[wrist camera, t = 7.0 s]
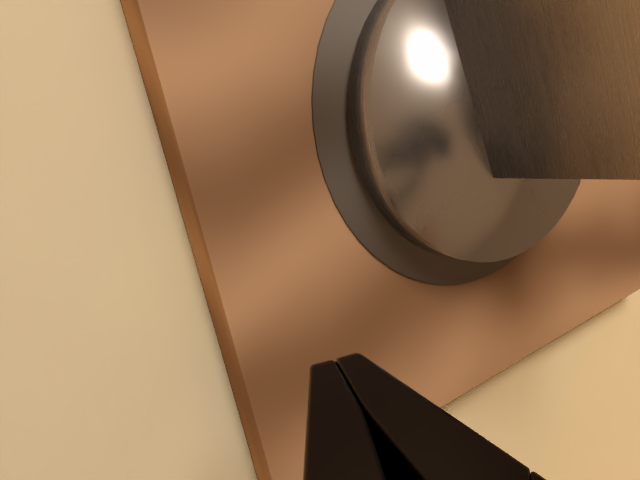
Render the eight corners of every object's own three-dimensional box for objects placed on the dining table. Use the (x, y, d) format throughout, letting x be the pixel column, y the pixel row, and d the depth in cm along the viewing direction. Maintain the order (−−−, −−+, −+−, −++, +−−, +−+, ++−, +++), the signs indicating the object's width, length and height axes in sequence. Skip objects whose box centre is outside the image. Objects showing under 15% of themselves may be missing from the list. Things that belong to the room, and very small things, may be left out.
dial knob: (588, 184, 23) (862, 190, 16) (408, 310, 19) (669, 396, 12) (509, -174, 19) (830, -386, 12) (257, -113, 15) (514, -383, 8)
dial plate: (619, 277, 28) (652, 283, 26) (258, 481, 19) (280, 506, 17) (574, -181, 23) (612, -204, 22) (61, -206, 14) (69, -248, 13)
